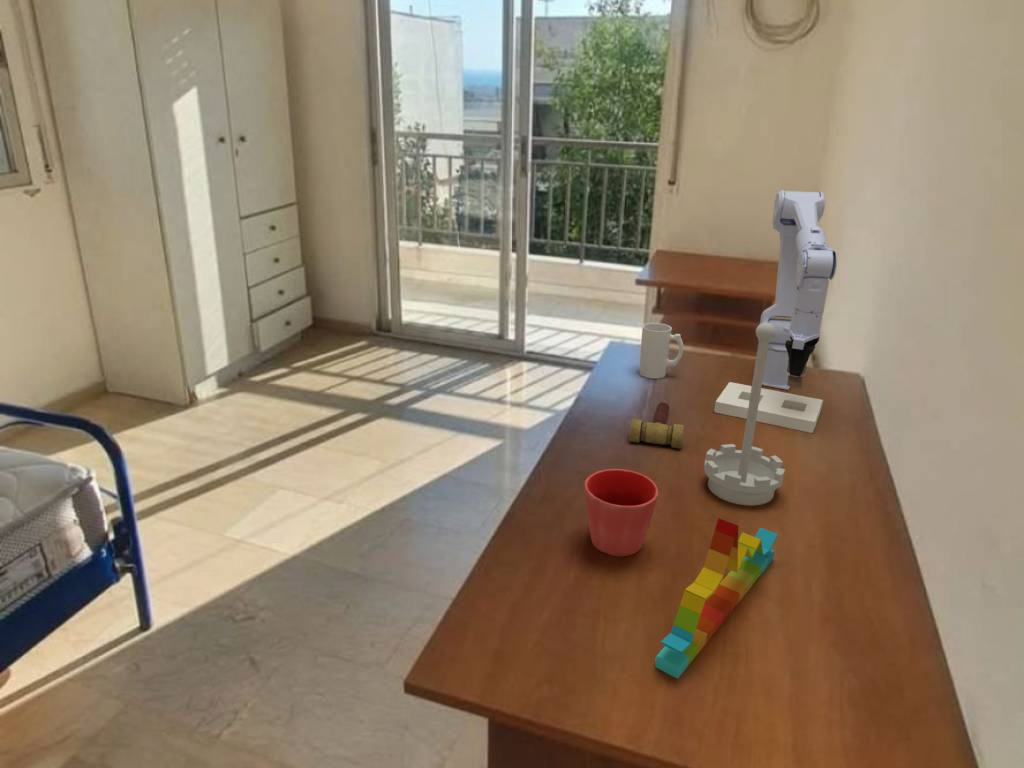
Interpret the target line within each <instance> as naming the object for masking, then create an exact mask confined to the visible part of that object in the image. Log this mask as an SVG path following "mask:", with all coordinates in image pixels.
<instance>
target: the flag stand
mask: <svg viewBox="0 0 1024 768" xmlns="http://www.w3.org/2000/svg"><path fill="white" fill-rule="evenodd" d="M759 324H760V323H759ZM759 324H758V325H757V327H756V328H755V336H756V337H757V339H759V340H758V344H757V351H756V357H755V362H754V363H755V364H754V369H753V374H752V375H753V376H752V377H753V378H752V383H751V386H752V388H751V394H750V401H749V407H748V413H747V419H745V427H744V433H743V440H742V447H741V449H737V447H736V445H735V444H734V443H730V444H729V443H728V444H720V450H718V451H717V450H716V449H714V448H710V449H708V450H707V452H706V454H705V458H704V465H703V467H704V468H703V470H704V473H705V475H706V476H707V477H708V482H707V487H708V488H709V489H708V490H710V491H711V493H713V494H714V495H715V496H716V497H718V498H720V499H721V500H724V501H725V502H729V503H731V504H736V505H741V506H760V505H765V504H767V503H769V502H771V501H772V500H773V499H774V496H775V491H776V490H777V489H779V488H780V487H781V486H782V484H783V482H784V478H785V472H786V469H784V468H783V464H784V461H782V459H780V458H779V456H777V455H771V456H769V457H767V456H764V455H763V452H764V449H762V448H759V447H757V446H753V442H754V435H755V430H756V422H757V421H756V418H757V412H758V405H759V399H760V393H761V388H763V387H762V386H763V385H762V381H763V375H764V369H765V362H766V356H767V350H768V344H769V340H771V339H772V338H773V337H774V335H775V329H774V327H773V326H772V325H771V324H769V323H762V324H760V325H759Z"/></svg>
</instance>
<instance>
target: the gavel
mask: <svg viewBox="0 0 1024 768" xmlns="http://www.w3.org/2000/svg"><path fill="white" fill-rule="evenodd" d="M669 412H670V405H669V404H668V403H667V401H662V402H659V403H658V404H657V406H656V411H655V412H654V413H655V414H654V417H653V420H652V422H649V421H647V422H643V419H639V418H632V420H631V422H630V429H629V435H628V436H629V438H628V439H629V442H631V443H637V444H639V443H641V442H644V443H649V444H655V445H662V446H666V445H668V446H670V447H671V448H672V449H679V450H681V449H682V447H683V442H684V440H683V439H684V432H685V426H684V424H677V423H674V424H673V426H672V425H669V424H666V423H667V420H668V416H669Z"/></svg>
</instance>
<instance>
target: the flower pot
mask: <svg viewBox="0 0 1024 768" xmlns="http://www.w3.org/2000/svg"><path fill="white" fill-rule="evenodd" d="M657 486H658V485H656V483H655V482H654V481H653V480H652V479H651V478H650V477H648V476H646V475H644V474H643V473H640V472H637V471H634V470H628V469H622V468H609V469H608V468H607V469H602V470H598V471H596V472H593V473H591V474H590V475H588V477H587V478H586V479H585V480H584V485H583V487H584V496H585V505H586V512H587V513H586V514H587V520H588V526H589V527H588V528H589V532H590V539H591V543H592V545H593V546H594V548H595V549H596V550H598V551H600V552H601V553H605V554H607V555H610V556H614V557H625V556H626V557H627V556H631V555H634V554H636V553H638V552H639V551H640V550H641V549H642V547H643V545H644V542H645V539H646V536H647V532H648V530H649V526H650V523H651V520H652V517H653V513H654V509H655V506H656V503H657V499H658V496H659V489H658V487H657Z"/></svg>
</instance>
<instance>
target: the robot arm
mask: <svg viewBox="0 0 1024 768" xmlns="http://www.w3.org/2000/svg"><path fill="white" fill-rule="evenodd" d="M825 206H826V195H825V194H824V193H823V191H794V190H791V191H790V190H783V189H780V190H779V191H777V193H776V196H775V199H774V204H773V211H772V212H773V214H772V229H774V230H775V231H777V232H779V242H780V243H779V244H780V245H779V253H778V254H779V255H778V265H777V277H776V288H775V297H774V298H775V299H774V304H772V305H771V306H769V307H767V308H766V309H764V310H763V311H762V313H761V315H760V321H759V324H758V326H759V325H760V324H762V323H769V324H771V325H772V326H773V327H774V329H775V335H774V337H773V338H772V339H771V340H769V344H768V350H767V356H766V362H765V369H764V375H763V381H762V386H766V387H770V388H775V389H779V390H786V391H788V390H790V388H791V387H790V386H788V385H787V381H788V374H787V366H788V359H789V372H790V375H792V376H798V377H800V376H801V375H802V372H803V370H804V367H805V364H806V362H807V363H808V361H809V358H810V355H811V354H812V353H813V352H814V350H815V349H816V345H817V344H818V343H819V340H820V336H821V326H822V321H823V315H824V310H825V305H826V299H827V295H828V291H829V285H830V280H831V281H832V280H833V279H834V277H835V275H836V271H837V266H838V265H837V264H838V256H837V255H838V254H837V251H836V250H835V249H833V248H832V247H829V243H828V239H827V236H826V232H825V230H824V229H823V228H821V227H820V226H819V223H820V220H821V218H823V216H824V212H825V209H826V207H825ZM785 318H786V319H785ZM787 318H788V319H787ZM757 339H758V338H757ZM758 341H759V339H758Z"/></svg>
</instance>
